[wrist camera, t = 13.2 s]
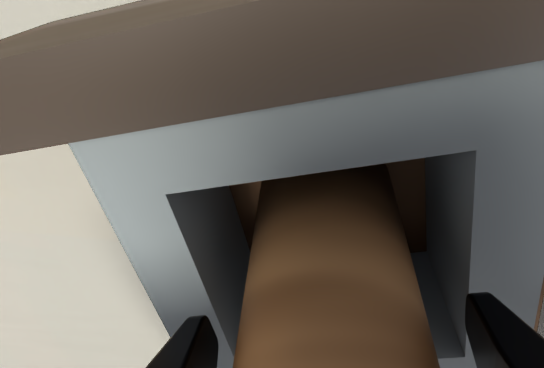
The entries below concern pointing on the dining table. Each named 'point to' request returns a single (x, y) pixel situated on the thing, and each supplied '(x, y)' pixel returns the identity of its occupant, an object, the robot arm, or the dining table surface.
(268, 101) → the base board
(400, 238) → the dowel
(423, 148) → the sliding block
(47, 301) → the dining table surface
